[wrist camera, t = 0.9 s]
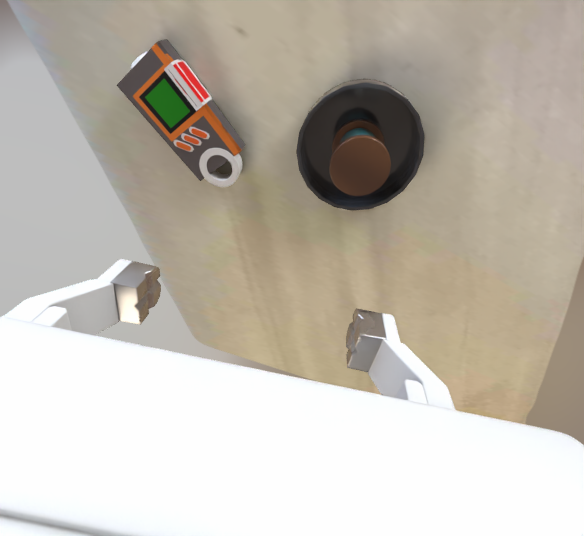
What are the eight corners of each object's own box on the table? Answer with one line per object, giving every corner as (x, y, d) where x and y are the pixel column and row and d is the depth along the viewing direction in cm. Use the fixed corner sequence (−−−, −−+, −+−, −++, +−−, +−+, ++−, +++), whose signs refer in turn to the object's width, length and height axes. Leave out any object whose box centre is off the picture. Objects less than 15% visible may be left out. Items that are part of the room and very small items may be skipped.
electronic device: (213, 198, 40) (111, 82, 33) (219, 187, 42) (126, 77, 35) (255, 169, 37) (154, 36, 30) (259, 159, 39) (167, 34, 32)
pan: (311, 67, 33) (308, 71, 30) (438, 92, 32) (446, 97, 30) (292, 187, 40) (289, 198, 38) (394, 207, 40) (398, 219, 37)
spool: (338, 114, 34) (336, 131, 29) (391, 124, 34) (399, 143, 29) (327, 165, 38) (323, 190, 32) (375, 175, 38) (379, 201, 32)
